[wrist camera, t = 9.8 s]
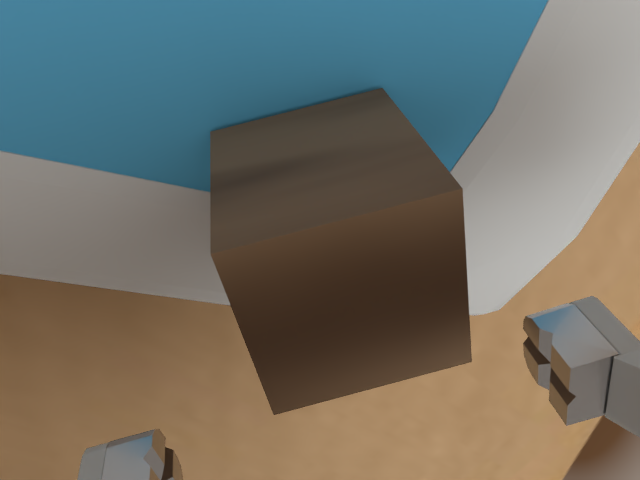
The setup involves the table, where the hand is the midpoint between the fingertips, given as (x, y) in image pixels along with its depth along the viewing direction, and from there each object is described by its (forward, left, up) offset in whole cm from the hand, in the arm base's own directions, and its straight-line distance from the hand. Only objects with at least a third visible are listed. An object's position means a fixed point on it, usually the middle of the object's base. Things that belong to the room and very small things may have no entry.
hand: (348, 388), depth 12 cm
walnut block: (+1, 0, -7) cm, 7 cm away
